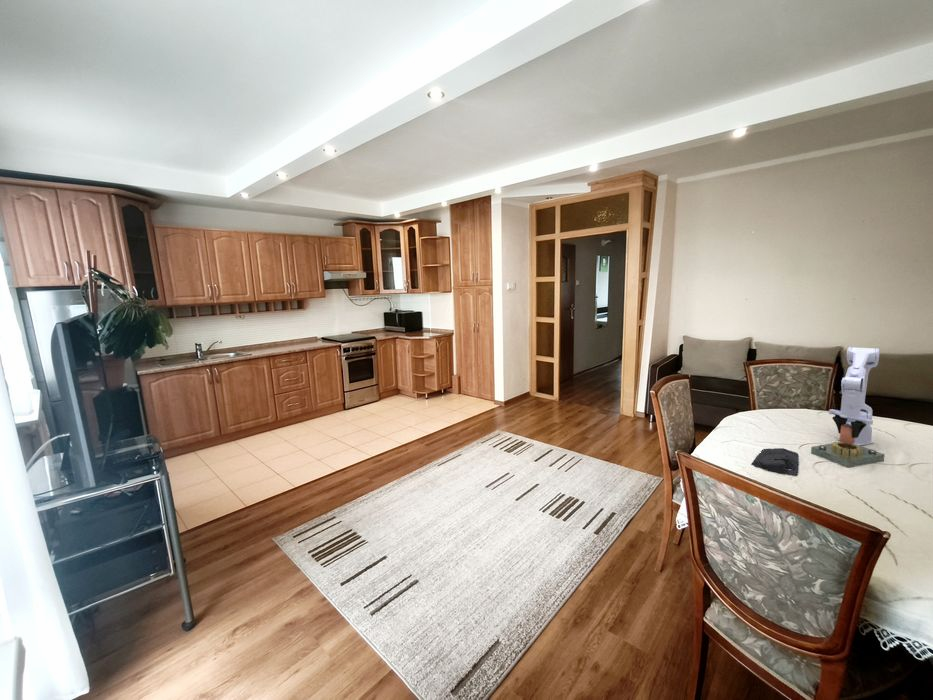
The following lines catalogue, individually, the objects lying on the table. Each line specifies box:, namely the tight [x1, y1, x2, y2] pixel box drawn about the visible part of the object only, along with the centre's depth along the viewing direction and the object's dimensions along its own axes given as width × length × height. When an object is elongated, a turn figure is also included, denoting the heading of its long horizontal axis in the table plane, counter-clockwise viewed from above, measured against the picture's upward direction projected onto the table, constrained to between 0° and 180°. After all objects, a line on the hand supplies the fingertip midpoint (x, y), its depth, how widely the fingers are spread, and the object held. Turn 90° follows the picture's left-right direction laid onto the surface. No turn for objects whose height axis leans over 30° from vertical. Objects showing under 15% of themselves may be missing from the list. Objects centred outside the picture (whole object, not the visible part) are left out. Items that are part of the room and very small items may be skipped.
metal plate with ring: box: [810, 441, 885, 469], centre depth 158 cm, size 18×14×5 cm
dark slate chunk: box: [751, 447, 800, 477], centre depth 159 cm, size 15×22×5 cm
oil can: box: [839, 424, 855, 444], centre depth 157 cm, size 4×4×8 cm
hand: (848, 435), depth 157 cm, fingers closed on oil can, 4 cm apart
